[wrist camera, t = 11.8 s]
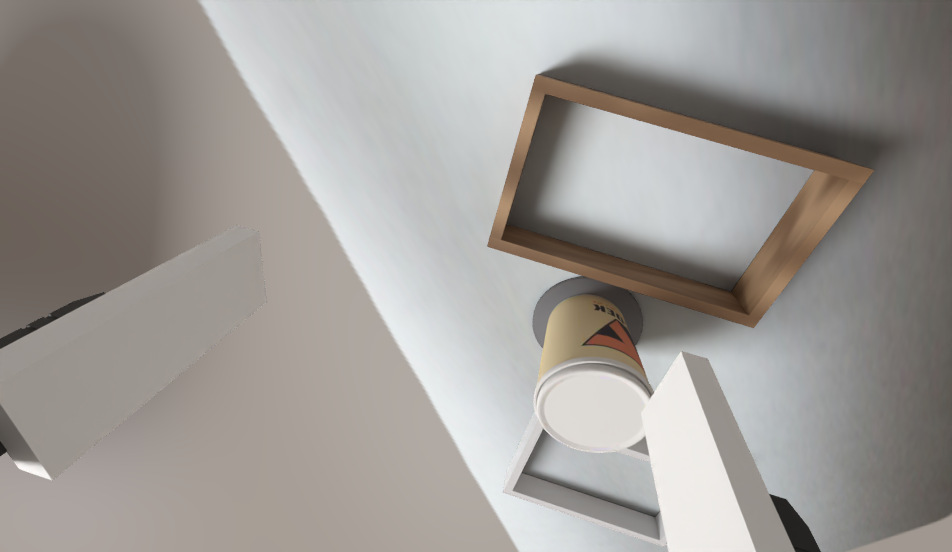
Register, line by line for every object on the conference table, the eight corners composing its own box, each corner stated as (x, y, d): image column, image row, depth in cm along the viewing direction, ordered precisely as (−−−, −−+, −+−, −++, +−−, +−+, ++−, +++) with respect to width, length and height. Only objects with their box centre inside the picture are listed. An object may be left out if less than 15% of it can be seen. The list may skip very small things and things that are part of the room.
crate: (538, 73, 31) (535, 74, 28) (838, 158, 30) (874, 170, 27) (493, 230, 38) (487, 246, 35) (735, 303, 37) (753, 328, 34)
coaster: (552, 262, 39) (552, 265, 38) (661, 296, 38) (662, 299, 38) (520, 345, 44) (520, 349, 44) (614, 375, 44) (615, 379, 43)
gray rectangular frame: (539, 400, 47) (538, 419, 45) (717, 457, 46) (726, 481, 44) (505, 472, 55) (503, 492, 52) (658, 523, 54) (663, 546, 51)
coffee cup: (652, 332, 39) (685, 427, 29) (577, 374, 44) (583, 470, 33) (594, 269, 37) (607, 346, 27) (521, 319, 42) (508, 402, 31)
